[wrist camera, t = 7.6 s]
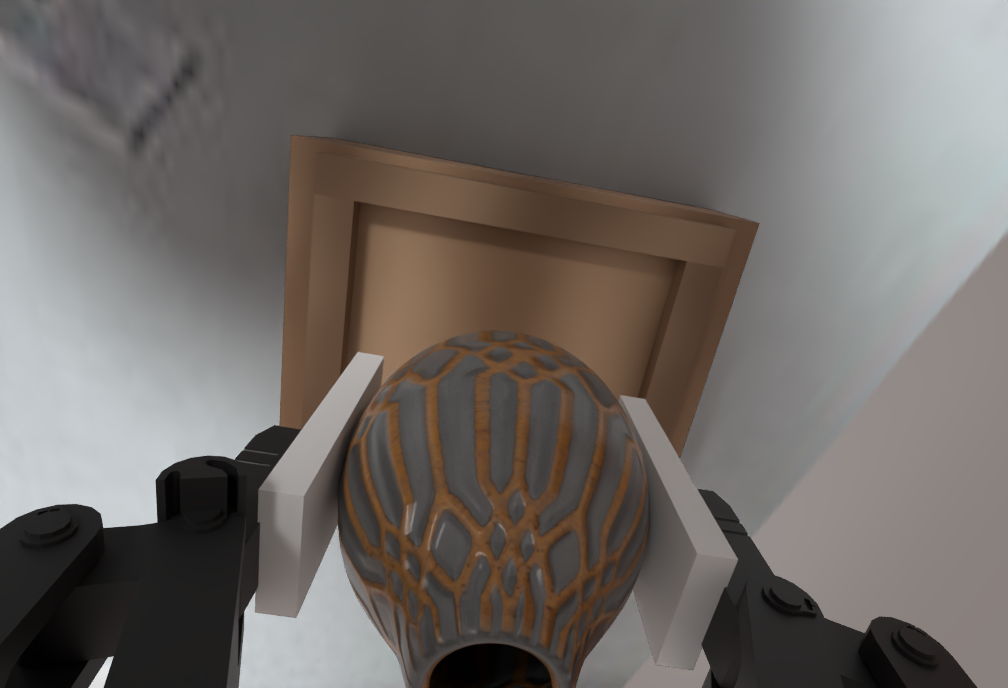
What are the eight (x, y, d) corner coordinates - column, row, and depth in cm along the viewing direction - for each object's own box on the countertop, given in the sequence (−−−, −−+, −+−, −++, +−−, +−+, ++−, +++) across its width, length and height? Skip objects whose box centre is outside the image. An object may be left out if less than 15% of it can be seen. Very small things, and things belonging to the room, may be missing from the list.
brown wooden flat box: (311, 437, 24) (268, 502, 20) (330, 137, 20) (280, 134, 15) (628, 485, 25) (656, 557, 21) (713, 209, 21) (771, 226, 16)
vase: (660, 398, 16) (835, 670, 8) (510, 544, 18) (519, 893, 9) (477, 249, 14) (445, 386, 6) (334, 426, 16) (158, 720, 8)
